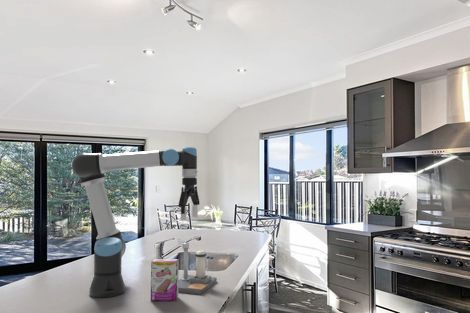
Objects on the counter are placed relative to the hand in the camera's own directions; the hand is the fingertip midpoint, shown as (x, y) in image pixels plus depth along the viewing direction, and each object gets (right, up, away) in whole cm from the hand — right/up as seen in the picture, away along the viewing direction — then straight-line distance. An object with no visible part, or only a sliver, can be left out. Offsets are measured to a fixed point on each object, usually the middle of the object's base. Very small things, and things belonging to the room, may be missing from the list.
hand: (189, 218), depth 181 cm
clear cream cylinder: (+7, -28, -13) cm, 31 cm away
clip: (-3, -13, -4) cm, 14 cm away
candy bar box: (-7, -29, -31) cm, 43 cm away
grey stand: (+4, -30, -14) cm, 33 cm away
